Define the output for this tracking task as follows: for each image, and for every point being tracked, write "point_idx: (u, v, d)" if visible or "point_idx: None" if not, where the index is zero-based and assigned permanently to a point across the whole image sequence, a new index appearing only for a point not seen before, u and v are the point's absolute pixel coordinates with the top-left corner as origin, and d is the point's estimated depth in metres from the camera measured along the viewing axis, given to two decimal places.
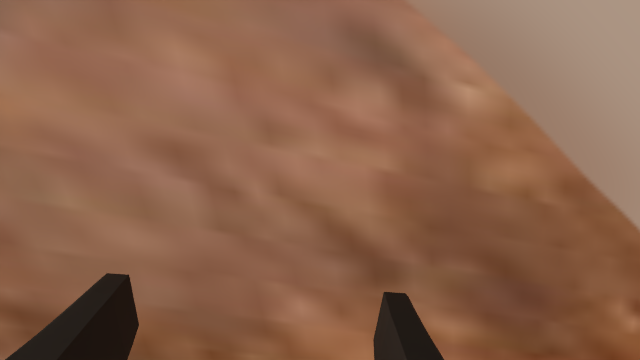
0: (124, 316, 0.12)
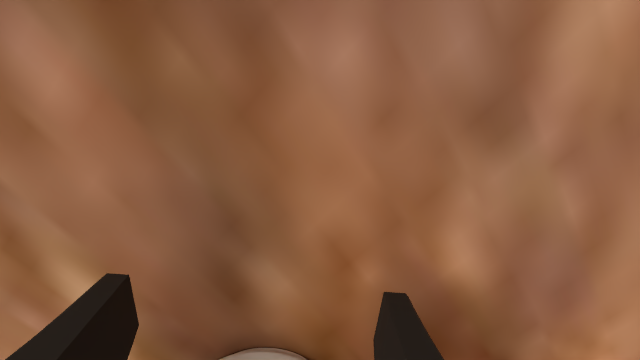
0: (124, 316, 0.12)
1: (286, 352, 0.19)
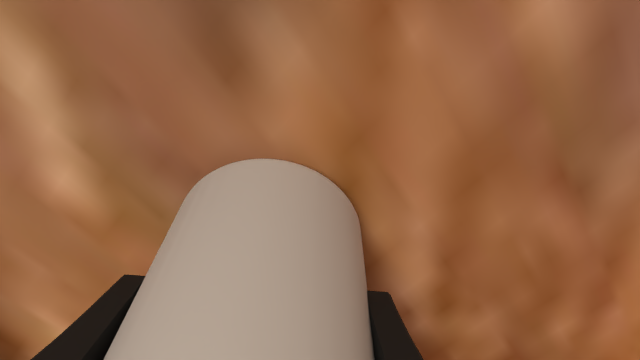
0: None
1: None
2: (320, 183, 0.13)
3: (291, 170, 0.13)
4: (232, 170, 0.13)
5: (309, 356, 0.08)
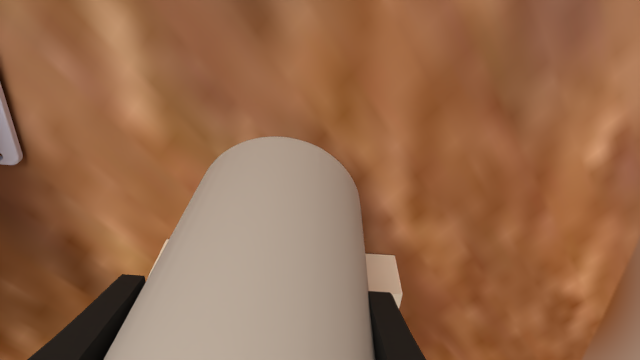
0: None
1: None
2: (323, 156, 0.15)
3: (297, 145, 0.15)
4: (246, 145, 0.15)
5: (310, 274, 0.10)
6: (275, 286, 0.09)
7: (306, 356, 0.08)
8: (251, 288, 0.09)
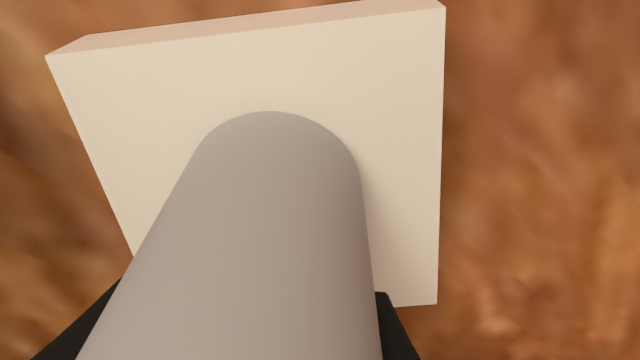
0: None
1: None
2: (319, 131, 0.14)
3: (291, 119, 0.14)
4: (235, 121, 0.14)
5: (307, 258, 0.09)
6: (267, 272, 0.08)
7: (302, 351, 0.07)
8: (239, 276, 0.08)
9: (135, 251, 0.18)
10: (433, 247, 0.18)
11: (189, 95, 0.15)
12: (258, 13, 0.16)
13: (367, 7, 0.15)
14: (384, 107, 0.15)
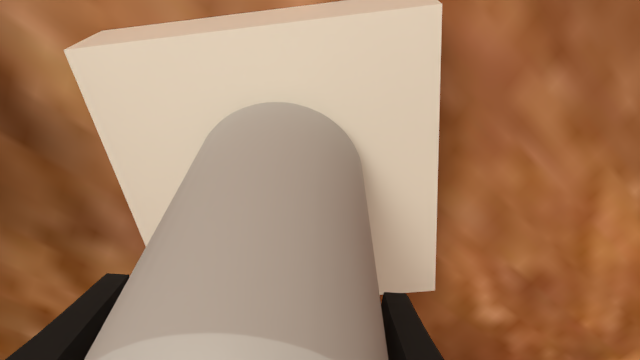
0: None
1: None
2: (323, 120, 0.15)
3: (297, 109, 0.15)
4: (244, 111, 0.15)
5: (314, 230, 0.10)
6: (279, 240, 0.09)
7: (312, 305, 0.08)
8: (254, 243, 0.09)
9: (146, 238, 0.19)
10: (431, 235, 0.19)
11: (200, 87, 0.16)
12: None
13: (368, 4, 0.16)
14: (384, 99, 0.16)
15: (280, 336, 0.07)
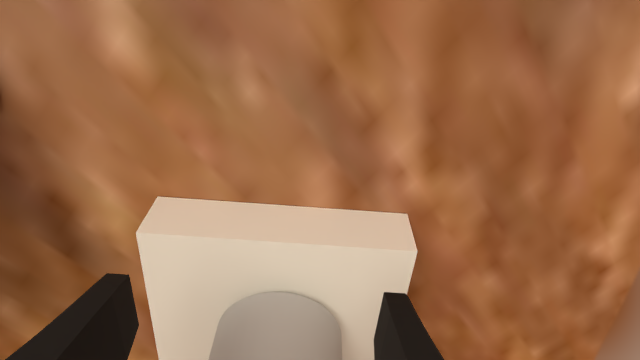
0: (124, 316, 0.12)
1: None
2: (321, 314, 0.20)
3: (303, 305, 0.20)
4: (265, 300, 0.20)
5: None
6: None
7: None
8: None
9: (160, 351, 0.24)
10: None
11: (233, 269, 0.21)
12: None
13: (366, 228, 0.21)
14: (365, 296, 0.22)
15: None
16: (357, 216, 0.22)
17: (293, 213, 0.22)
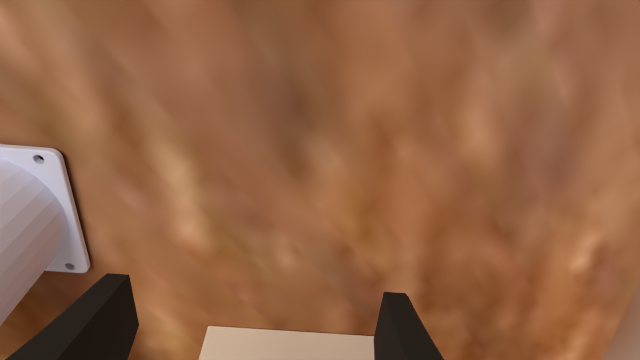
0: (124, 316, 0.12)
1: None
2: None
3: None
4: None
5: None
6: None
7: None
8: None
9: None
10: None
11: None
12: (311, 332, 0.28)
13: None
14: None
15: None
16: (366, 342, 0.28)
17: (316, 341, 0.28)
